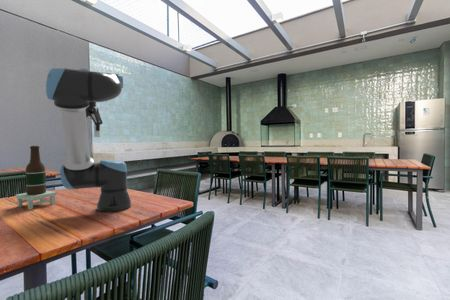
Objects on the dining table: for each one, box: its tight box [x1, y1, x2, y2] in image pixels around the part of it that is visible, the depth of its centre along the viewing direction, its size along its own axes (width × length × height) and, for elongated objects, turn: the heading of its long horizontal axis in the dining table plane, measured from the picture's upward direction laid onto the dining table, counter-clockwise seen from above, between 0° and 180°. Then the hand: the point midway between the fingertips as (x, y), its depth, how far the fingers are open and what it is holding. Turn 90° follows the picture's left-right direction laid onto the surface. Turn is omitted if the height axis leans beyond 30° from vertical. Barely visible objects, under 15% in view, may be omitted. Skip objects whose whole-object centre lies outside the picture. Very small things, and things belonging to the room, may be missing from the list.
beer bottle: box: [25, 145, 47, 195], centre depth 116 cm, size 8×8×24 cm
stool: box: [14, 190, 57, 211], centre depth 116 cm, size 12×12×6 cm
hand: (89, 136), depth 132 cm, fingers open, 13 cm apart
